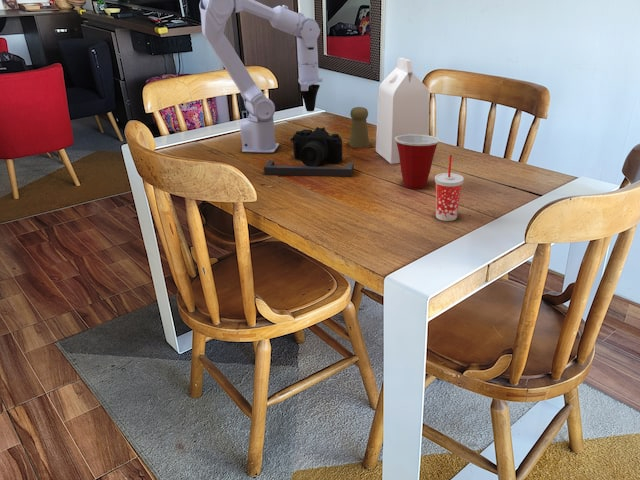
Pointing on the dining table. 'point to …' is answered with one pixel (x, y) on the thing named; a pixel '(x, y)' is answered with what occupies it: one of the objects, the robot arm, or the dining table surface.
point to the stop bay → (308, 170)
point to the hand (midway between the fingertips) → (310, 110)
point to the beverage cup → (448, 194)
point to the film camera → (317, 147)
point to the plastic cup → (416, 158)
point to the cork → (359, 128)
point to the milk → (400, 109)
